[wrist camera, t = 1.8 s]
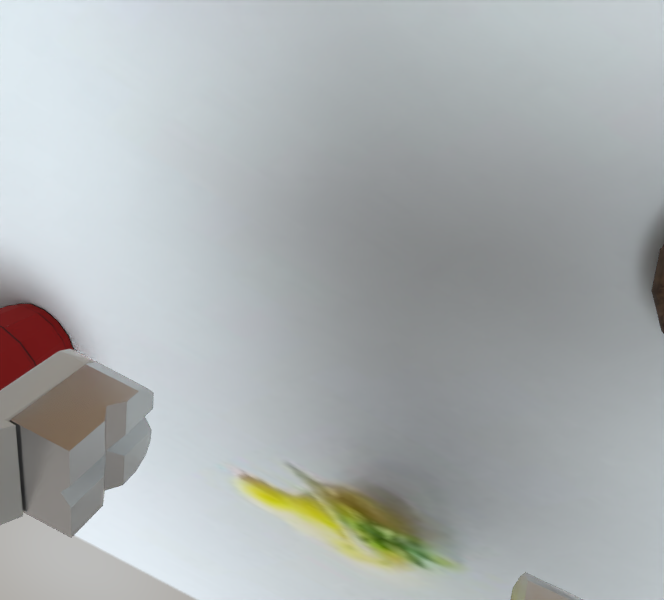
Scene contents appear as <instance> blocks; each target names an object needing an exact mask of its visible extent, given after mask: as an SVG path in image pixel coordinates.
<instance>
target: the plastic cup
mask: <svg viewBox="0 0 664 600" xmlns="http://www.w3.org/2000/svg"><path fill="white" fill-rule="evenodd" d="M66 349H72V350H73V347H72V345H71V342H70V340H69V337H68V335H67V334H66V332H65V331H64V330H63V328H62V327H61V325H60V324H59V323H58V321H57V320H55V319H54V318H53V317H52V316H51V315H50V314H48V313H47V312H46V311H45V310H43V309H41V308H39V307H36V306H34V305H32V304H17V305H14V306H13V305H9V306H6V307H3V308H0V390H2V389H3V388H5V387H6V386H8V385H9V384H11V383H12V382H14V381H15V380H17V379H18V378H19V377H21V376H22V375H24V374H25V373H27V372H28V371H30V370H31V369H33V368H34V367H36V366H37V365H39V364H40V363H42V362H43V361H45V360H46V359H48V358H49V357H51V356H52V355H54V354H55V353H57V352H58V351H61V350H66Z"/></svg>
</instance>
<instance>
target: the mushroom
mask: <svg viewBox="0 0 664 600" xmlns="http://www.w3.org/2000/svg"><path fill="white" fill-rule="evenodd" d="M652 294H653V298H654V302H655V306H656V310H657V314H658V318H659V322H660V326H661V330H662V332H663V333H664V245H663V246H662V248H661V249H660V252H659V257H658V262H657V267H656V272H655V277H654V281H653V286H652Z"/></svg>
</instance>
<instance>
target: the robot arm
mask: <svg viewBox="0 0 664 600" xmlns="http://www.w3.org/2000/svg"><path fill="white" fill-rule="evenodd" d="M152 409H153V392H152V391H151V390H149V389H148V388H146V387H144V386H142V385H140V384H138V383H136V382H134V381H133V380H131V379H129V378H127V377H125V376H123V375H121V374H119V373H117V372H115V371H113V370H112V369H110V368H108V367H106V366H104V365H102V364H100V363H98V362H96V361H94V360H92V359H90V358H88V357H86V356H84V355H82V354H80V353H78V352H76V351H74V350H72V349H66V350H61V351H58V352H57V353H55V354H54V355H52V356H51V357H49V358H48V359H46V360H45V361H43V362H42V363H40V364H39V365H37V366H36V367H34V368H33V369H31V370H30V371H28V372H27V373H25V374H24V375H22V376H21V377H19V378H18V379H17V380H15V381H14V382H12V383H11V384H9V385H8V386H6V387H5V388H3V389H2V390H0V525H2V524H4V523H6V522H9V521H12V520H14V519H16V518H19V517H21V516H23V512H24V513H26V514H28V515H30V516H32V517H34V518H35V519H37V520H39V521H41V522H43V523H45V524H47V525H48V526H50V527H52V528H54V529H56V530H58V531H60V532H62V533H63V534H66V535H67V536H69V537H72V536H73V535H74V534H75V533H76V532H77V531H78V530H79V529H80V528H81V527H82V526H83V525H84V524H85V523H86V522H87V521H88V520H89V519H90V518H91V517H92V516H93V515H94V514H95V513H96V512H97V511H98V510H99V509H100V508H101V507H102V506H103V501H104V491H105V490H108V489H111V488H114V487H118V486H121V485H123V484H124V483H125V482H126V481H127V480H128V479H129V478H130V477H131V476H132V475H133V474H134V473H135V472H136V470H137V468H138V467H139V465H140V463H141V462H142V460H143V459H144V457H145V455H146V453H147V450H148V447H149V444H150V439H151V428H150V426H149V424H148V422H147V420H146V418H145V416H146V415H147V414H148V413H149V412H150V411H151V410H152ZM511 600H583V599H581V598H579V597H577V596H575V595H573V594H571V593H568V592H566V591H564V590H562V589H560V588H558V587H556V586H554V585H552V584H550V583H547V582H545V581H543V580H541V579H539V578H537V577H535V576H533V575H531V574H528V573H526V572H525V573H524V574H523V575H522V576H520V578H519V579H518V581H517V582H516V584H515V585H514V587H513V590H512V595H511Z"/></svg>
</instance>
